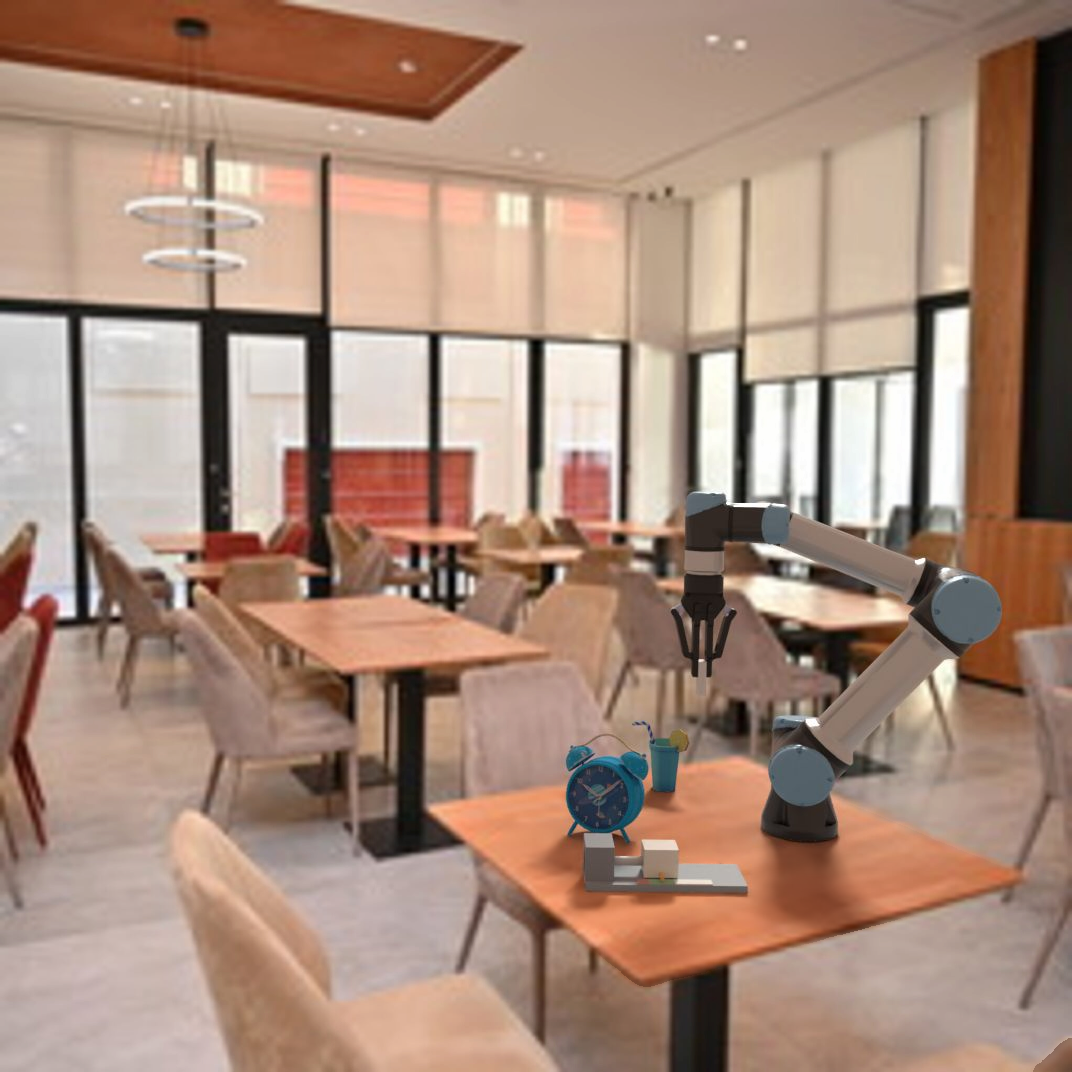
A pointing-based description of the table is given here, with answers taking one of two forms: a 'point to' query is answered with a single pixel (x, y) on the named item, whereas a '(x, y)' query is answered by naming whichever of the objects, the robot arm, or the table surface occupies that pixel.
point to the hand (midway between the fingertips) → (700, 693)
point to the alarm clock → (605, 789)
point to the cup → (665, 758)
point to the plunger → (654, 859)
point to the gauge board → (631, 879)
